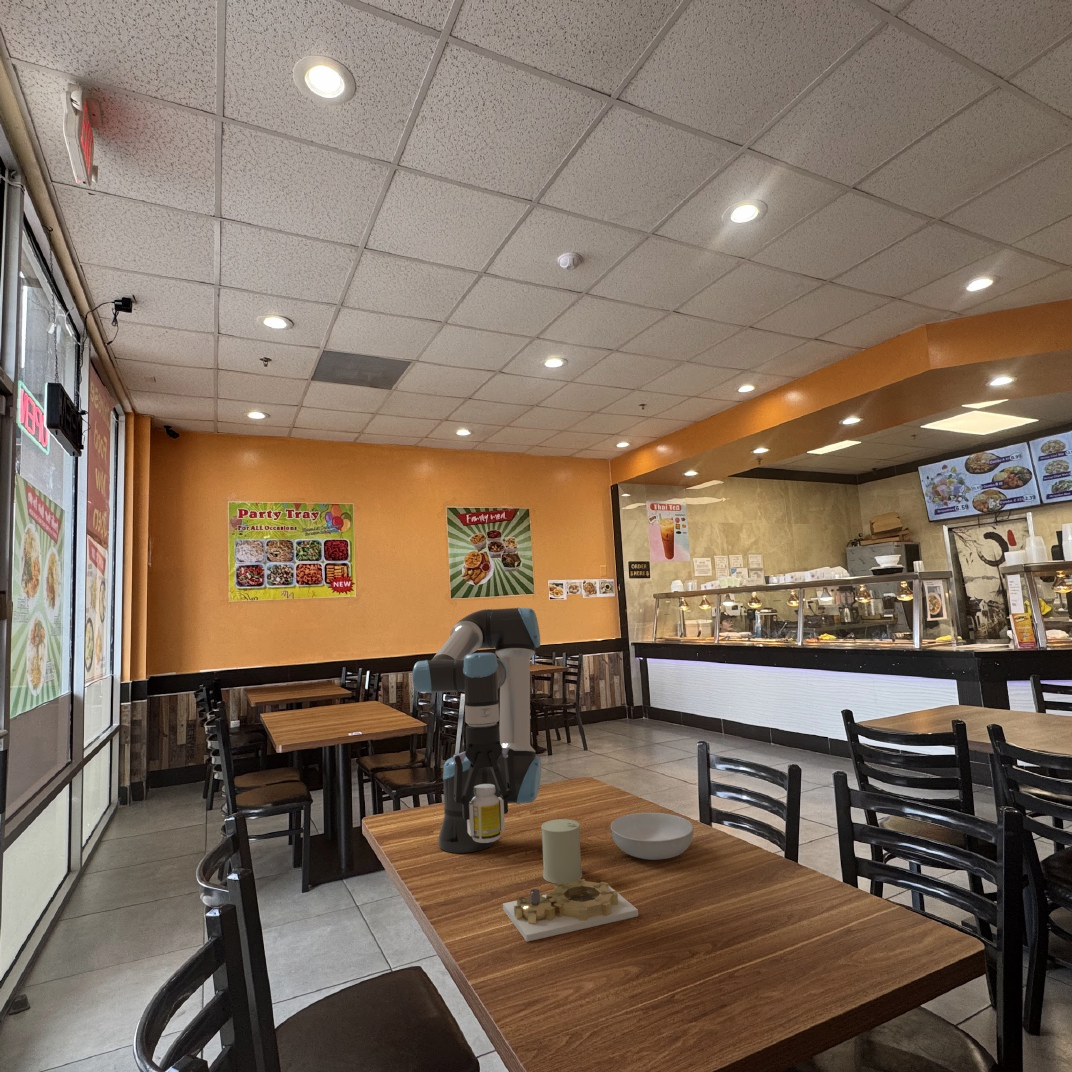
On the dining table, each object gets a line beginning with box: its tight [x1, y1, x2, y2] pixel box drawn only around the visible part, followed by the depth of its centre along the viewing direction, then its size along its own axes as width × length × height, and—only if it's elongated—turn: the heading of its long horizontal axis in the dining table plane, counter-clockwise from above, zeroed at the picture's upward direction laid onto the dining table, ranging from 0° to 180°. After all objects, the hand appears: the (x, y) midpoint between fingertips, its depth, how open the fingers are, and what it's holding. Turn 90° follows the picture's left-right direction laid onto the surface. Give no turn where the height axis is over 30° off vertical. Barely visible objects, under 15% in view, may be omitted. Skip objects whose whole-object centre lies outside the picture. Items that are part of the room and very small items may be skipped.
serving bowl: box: [609, 812, 694, 861], centre depth 168 cm, size 21×21×7 cm
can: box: [541, 818, 583, 885], centre depth 156 cm, size 9×9×12 cm
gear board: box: [502, 884, 639, 942], centre depth 137 cm, size 15×24×1 cm, turn 110°
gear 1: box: [514, 888, 557, 924], centre depth 135 cm, size 8×9×4 cm
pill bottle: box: [471, 784, 501, 843], centre depth 145 cm, size 6×6×11 cm
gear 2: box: [545, 878, 619, 921], centre depth 138 cm, size 14×14×2 cm
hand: (486, 831), depth 145 cm, fingers closed on pill bottle, 6 cm apart
